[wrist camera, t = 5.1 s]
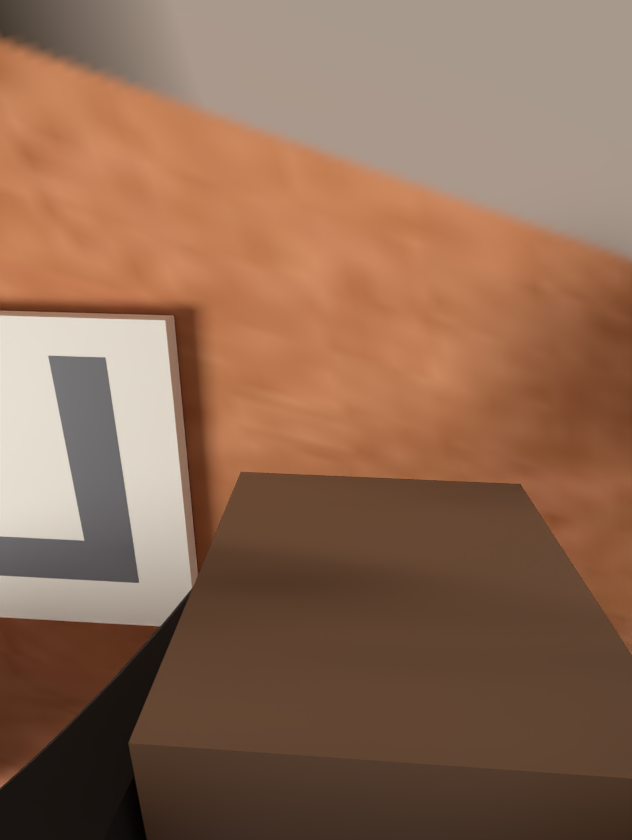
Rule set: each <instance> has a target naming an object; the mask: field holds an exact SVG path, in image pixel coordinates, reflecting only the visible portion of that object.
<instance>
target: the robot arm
mask: <svg viewBox="0 0 632 840" xmlns="http://www.w3.org/2000/svg"><path fill="white" fill-rule="evenodd" d="M192 589H193V587H192ZM192 589H191V590H190V591H189V592H188V594H187V595H186V596H185V597H184V598H183V600H182V601H181V602H180V603H179V605H178V606H177V607H176V608H175V609H174V611H173V612H172V613H171V614H170V615H169V617H168V618H167V619H166V620H165V621H164V623H163V624H162V625H161V626H160V627H159V628H158V630H157V631H156V632H155V633H154V634H153V635H152V637H151V638H150V639H149V640H148V641H147V642H146V643H145V644H144V646H143V647H142V648H141V649H140V650H139V651H138V652H137V653H136V654H135V656H134V657H133V658H132V659H131V660H130V661H129V662H128V663H127V664H126V665H125V667H124V668H123V669H122V670H121V671H120V672H119V673H118V674H117V675H116V676H115V678H114V679H113V680H112V681H111V682H110V683H109V684H108V685H107V686H106V687H105V688H104V689H103V690H102V691H101V692H100V693H99V694H98V695H97V696H96V697H95V698H94V699H93V700H92V701H91V702H90V703H89V704H88V705H87V706H86V707H85V708H84V709H83V710H82V711H81V712H80V713H79V714H78V715H77V716H76V718H75V719H74V720H73V721H72V722H71V723H70V724H69V725H68V726H67V727H66V728H65V729H64V730H63V731H62V732H61V733H60V734H58V735H57V736H56V737H55V738H54V739H53V740H52V741H51V742H50V743H49V744H48V745H47V746H46V747H45V748H44V749H43V750H42V751H41V752H40V753H39V754H37V755H36V756H35V757H34V758H33V759H32V760H31V761H30V762H29V763H28V764H27V765H26V766H25V767H23V768H22V769H21V770H20V771H19V772H18V773H17V774H16V775H14V776H13V777H12V778H11V779H10V780H9V781H8V782H7V783H6V784H4V785H3V786H2V787H1V788H0V840H147V839H146V834H145V828H144V823H143V818H142V813H141V807H140V802H139V797H138V791H137V786H136V781H135V776H134V770H133V765H132V760H131V755H130V749H129V744H128V743H129V740H130V738H131V736H132V733H133V731H134V728H135V726H136V724H137V721H138V719H139V716H140V714H141V711H142V709H143V707H144V704H145V702H146V699H147V697H148V695H149V692H150V690H151V687H152V685H153V683H154V680H155V678H156V675H157V673H158V670H159V668H160V666H161V663H162V661H163V658H164V656H165V654H166V651H167V649H168V646H169V644H170V642H171V639H172V637H173V634H174V632H175V630H176V627H177V625H178V622H179V620H180V617H181V615H182V613H183V610H184V608H185V605H186V603H187V601H188V598H189V596H190V593H191V591H192Z"/></svg>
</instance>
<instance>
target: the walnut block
mask: <svg viewBox="0 0 632 840" xmlns="http://www.w3.org/2000/svg"><path fill="white" fill-rule="evenodd" d="M128 744H129V749H130V755H131V760H132V765H133V770H134V776H135V781H136V786H137V791H138V797H139V802H140V807H141V813H142V818H143V823H144V828H145V834H146V839H147V840H632V655H631V653H630V652H629V650H628V649H627V647H626V645H625V644H624V642H623V641H622V639H621V638H620V636H619V635H618V633H617V632H616V630H615V629H614V627H613V626H612V624H611V622H610V621H609V619H608V618H607V616H606V615H605V613H604V612H603V610H602V609H601V607H600V606H599V604H598V603H597V601H596V599H595V598H594V596H593V595H592V593H591V592H590V590H589V589H588V587H587V586H586V584H585V583H584V581H583V580H582V578H581V576H580V575H579V573H578V572H577V570H576V569H575V567H574V566H573V564H572V563H571V561H570V560H569V558H568V557H567V555H566V553H565V552H564V550H563V549H562V547H561V546H560V544H559V543H558V541H557V540H556V538H555V537H554V535H553V534H552V532H551V530H550V529H549V527H548V526H547V524H546V523H545V521H544V520H543V518H542V517H541V515H540V514H539V512H538V511H537V509H536V507H535V506H534V504H533V503H532V501H531V500H530V498H529V497H528V495H527V494H526V492H525V491H524V489H523V488H522V486H521V484H505V483H482V482H459V481H436V480H413V479H391V478H368V477H345V476H322V475H299V474H276V473H253V472H241V473H240V475H239V478H238V480H237V483H236V485H235V487H234V490H233V492H232V495H231V497H230V499H229V502H228V504H227V507H226V509H225V511H224V514H223V516H222V519H221V521H220V524H219V526H218V528H217V531H216V533H215V536H214V538H213V540H212V543H211V545H210V548H209V550H208V552H207V555H206V557H205V560H204V562H203V564H202V567H201V569H200V572H199V574H198V577H197V579H196V581H195V584H194V586H193V589H192V591H191V593H190V596H189V598H188V601H187V603H186V605H185V608H184V610H183V613H182V615H181V617H180V620H179V622H178V625H177V627H176V630H175V632H174V634H173V637H172V639H171V642H170V644H169V646H168V649H167V651H166V654H165V656H164V658H163V661H162V663H161V666H160V668H159V670H158V673H157V675H156V678H155V680H154V683H153V685H152V687H151V690H150V692H149V695H148V697H147V699H146V702H145V704H144V707H143V709H142V711H141V714H140V716H139V719H138V721H137V724H136V726H135V728H134V731H133V733H132V736H131V738H130V740H129V743H128Z"/></svg>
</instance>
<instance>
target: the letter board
mask: <svg viewBox="0 0 632 840" xmlns="http://www.w3.org/2000/svg"><path fill="white" fill-rule="evenodd" d="M197 577H198V570H197V559H196V548H195V537H194V527H193V516H192V505H191V494H190V483H189V472H188V462H187V451H186V440H185V429H184V418H183V408H182V397H181V386H180V375H179V364H178V354H177V343H176V332H175V321H174V315H142V314H107V313H71V312H36V311H0V617H6V618H23V619H40V620H58V621H75V622H92V623H109V624H127V625H144V626H161V625H162V624H163V623H164V621H165V620H166V619H167V618H168V617H169V615H170V614H171V613H172V612H173V611H174V609H175V608H176V607H177V606H178V605H179V603H180V602H181V601H182V600H183V598H184V597H185V596H186V595H187V594H188V592H189V591H190V590H191V589H192V587H193V586H194V584H195V581H196V579H197Z"/></svg>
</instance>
